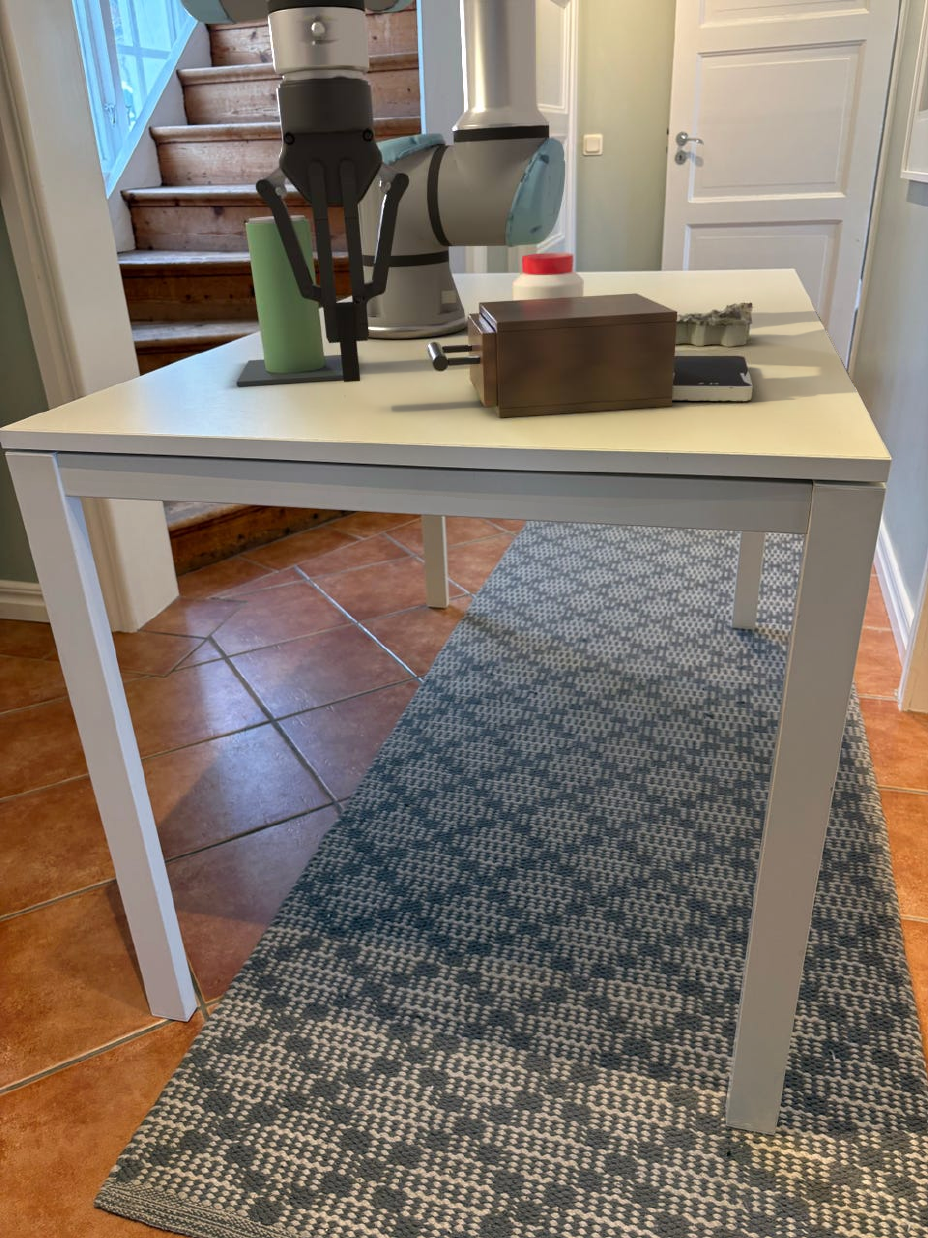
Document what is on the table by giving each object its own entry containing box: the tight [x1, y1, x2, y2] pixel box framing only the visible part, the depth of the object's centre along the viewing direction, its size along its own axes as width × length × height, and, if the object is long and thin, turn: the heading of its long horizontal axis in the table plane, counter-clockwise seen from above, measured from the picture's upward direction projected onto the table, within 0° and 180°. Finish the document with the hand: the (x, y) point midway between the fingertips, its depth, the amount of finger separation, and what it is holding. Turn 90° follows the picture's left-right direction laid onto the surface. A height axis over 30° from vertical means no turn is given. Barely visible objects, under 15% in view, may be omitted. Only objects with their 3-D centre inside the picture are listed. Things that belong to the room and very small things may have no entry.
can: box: [245, 214, 325, 373], centre depth 97 cm, size 7×7×15 cm
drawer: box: [426, 312, 498, 408], centre depth 83 cm, size 19×11×6 cm, turn 96°
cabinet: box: [478, 293, 678, 419], centre depth 83 cm, size 16×13×8 cm
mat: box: [235, 354, 344, 387], centre depth 101 cm, size 12×12×1 cm
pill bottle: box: [511, 252, 585, 301], centre depth 98 cm, size 8×8×11 cm
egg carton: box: [675, 302, 754, 348], centre depth 106 cm, size 11×8×4 cm
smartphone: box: [672, 355, 754, 402], centre depth 87 cm, size 8×1×15 cm
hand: (351, 378), depth 82 cm, fingers closed
